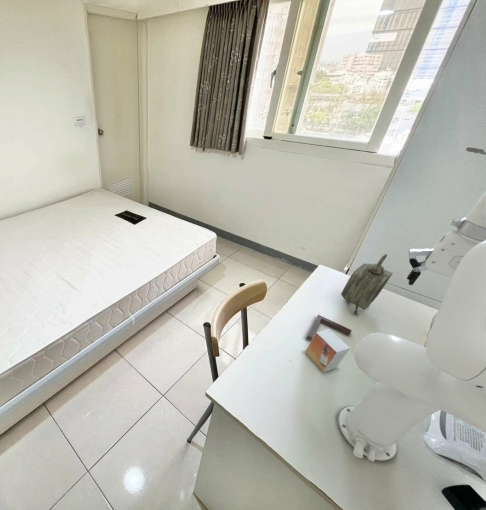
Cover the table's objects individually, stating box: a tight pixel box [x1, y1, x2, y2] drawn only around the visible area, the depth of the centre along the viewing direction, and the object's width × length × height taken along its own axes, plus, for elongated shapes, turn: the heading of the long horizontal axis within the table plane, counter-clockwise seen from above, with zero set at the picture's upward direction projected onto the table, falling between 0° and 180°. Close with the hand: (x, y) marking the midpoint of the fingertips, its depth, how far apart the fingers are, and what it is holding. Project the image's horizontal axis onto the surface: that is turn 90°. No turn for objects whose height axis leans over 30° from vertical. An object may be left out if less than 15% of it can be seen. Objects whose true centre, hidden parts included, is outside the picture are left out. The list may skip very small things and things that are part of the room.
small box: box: [304, 328, 351, 373], centre depth 87 cm, size 8×6×10 cm
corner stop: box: [305, 314, 352, 342], centre depth 98 cm, size 14×11×2 cm
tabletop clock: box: [340, 254, 393, 316], centre depth 105 cm, size 14×9×25 cm, turn 126°
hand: (434, 290), depth 68 cm, fingers open, 9 cm apart
